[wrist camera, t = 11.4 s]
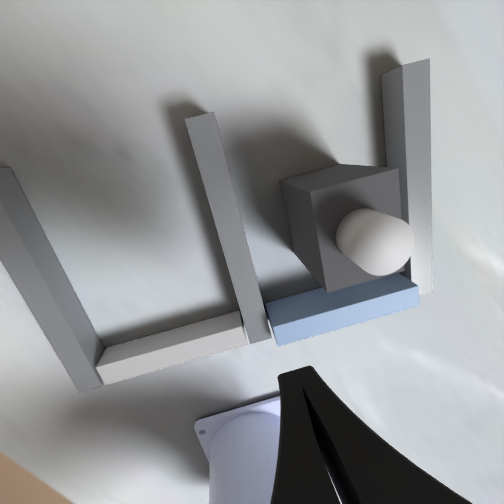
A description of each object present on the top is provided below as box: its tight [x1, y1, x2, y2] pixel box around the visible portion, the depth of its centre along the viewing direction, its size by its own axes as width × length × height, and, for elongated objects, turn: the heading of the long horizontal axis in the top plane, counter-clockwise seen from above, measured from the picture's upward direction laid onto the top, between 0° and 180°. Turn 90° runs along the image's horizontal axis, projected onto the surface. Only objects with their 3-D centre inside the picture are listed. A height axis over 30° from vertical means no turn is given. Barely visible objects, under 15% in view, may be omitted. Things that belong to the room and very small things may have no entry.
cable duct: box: [0, 58, 433, 393], centre depth 17 cm, size 14×24×3 cm, turn 103°
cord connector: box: [279, 164, 414, 293], centre depth 15 cm, size 5×4×8 cm
